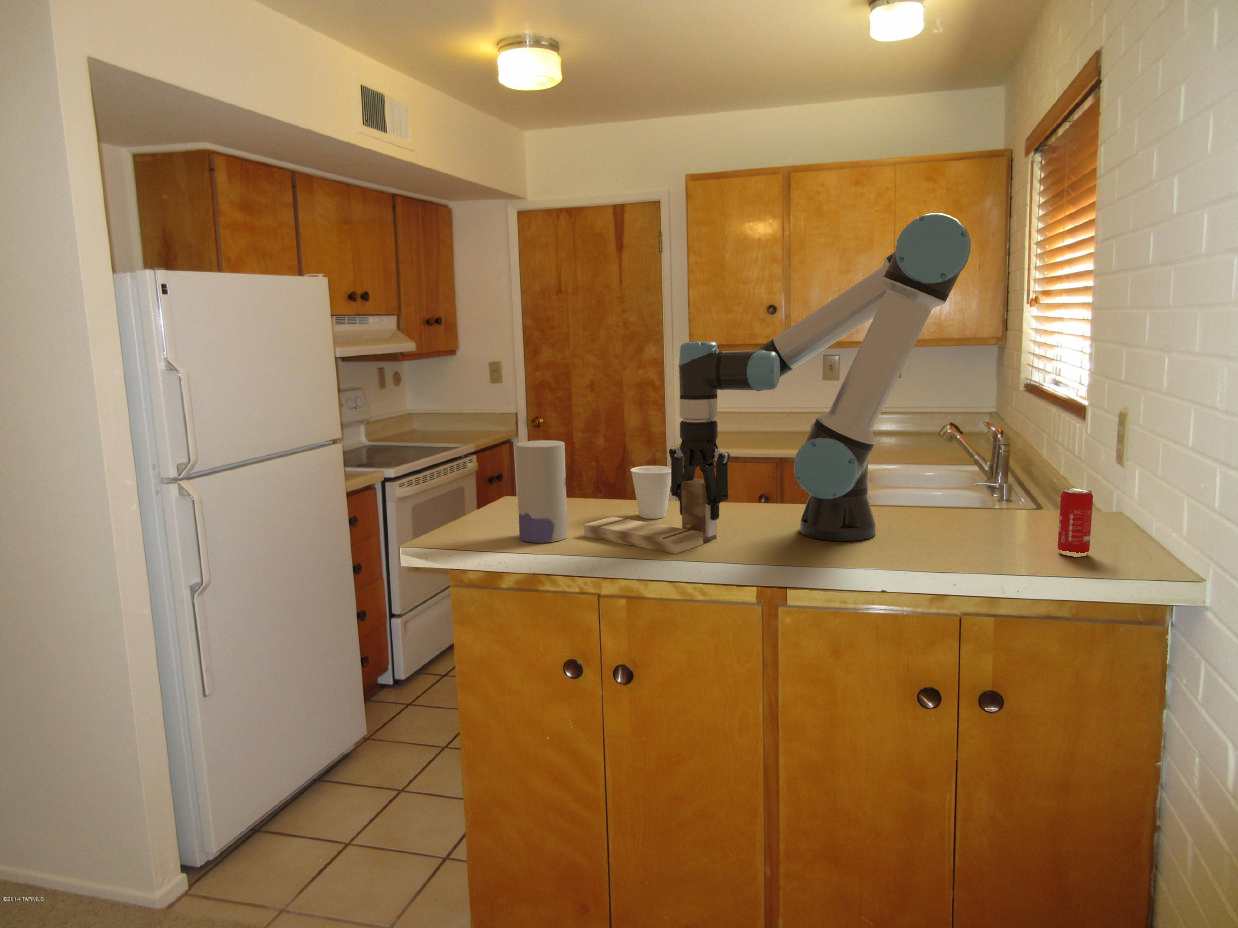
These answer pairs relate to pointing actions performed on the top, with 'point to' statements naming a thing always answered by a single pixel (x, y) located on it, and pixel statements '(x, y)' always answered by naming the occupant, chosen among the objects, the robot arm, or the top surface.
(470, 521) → the top surface
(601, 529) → the plank
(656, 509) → the cup
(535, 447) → the container
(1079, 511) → the beverage can
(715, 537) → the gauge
